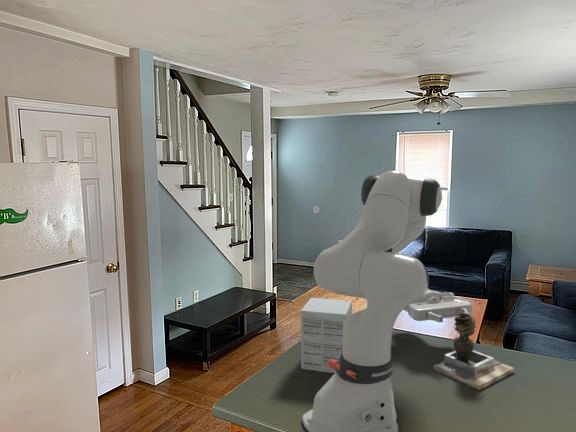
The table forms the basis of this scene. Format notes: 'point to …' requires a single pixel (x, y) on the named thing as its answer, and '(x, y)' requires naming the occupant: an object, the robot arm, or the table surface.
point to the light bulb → (464, 336)
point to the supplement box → (322, 332)
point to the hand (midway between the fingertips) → (454, 318)
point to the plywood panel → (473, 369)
